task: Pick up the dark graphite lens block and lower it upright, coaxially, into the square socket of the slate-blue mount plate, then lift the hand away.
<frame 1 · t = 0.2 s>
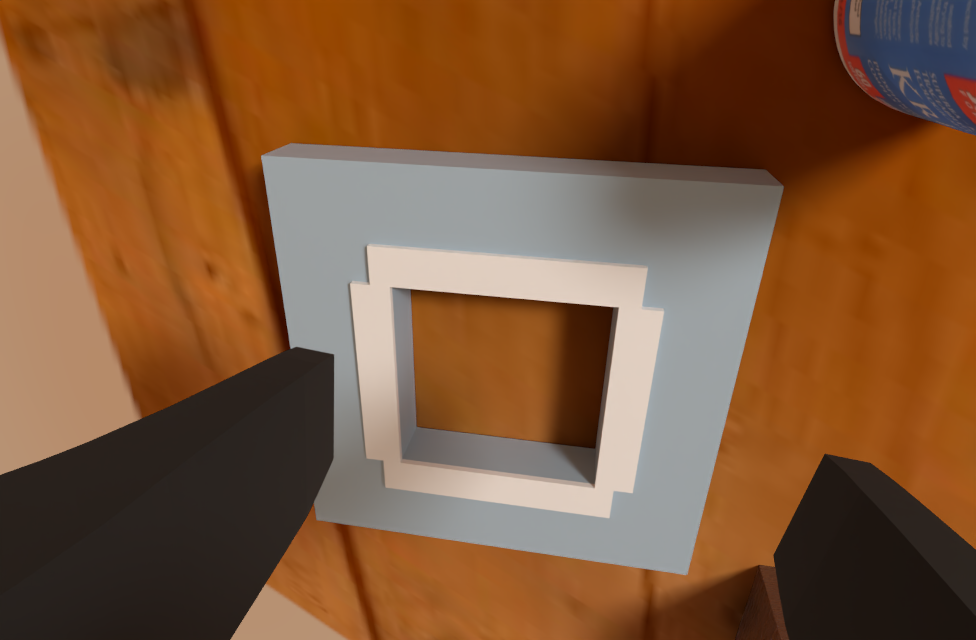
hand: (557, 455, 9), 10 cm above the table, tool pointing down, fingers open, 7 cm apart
mount plate: (507, 360, 20), on the table
lens block: (807, 614, 23), on the table
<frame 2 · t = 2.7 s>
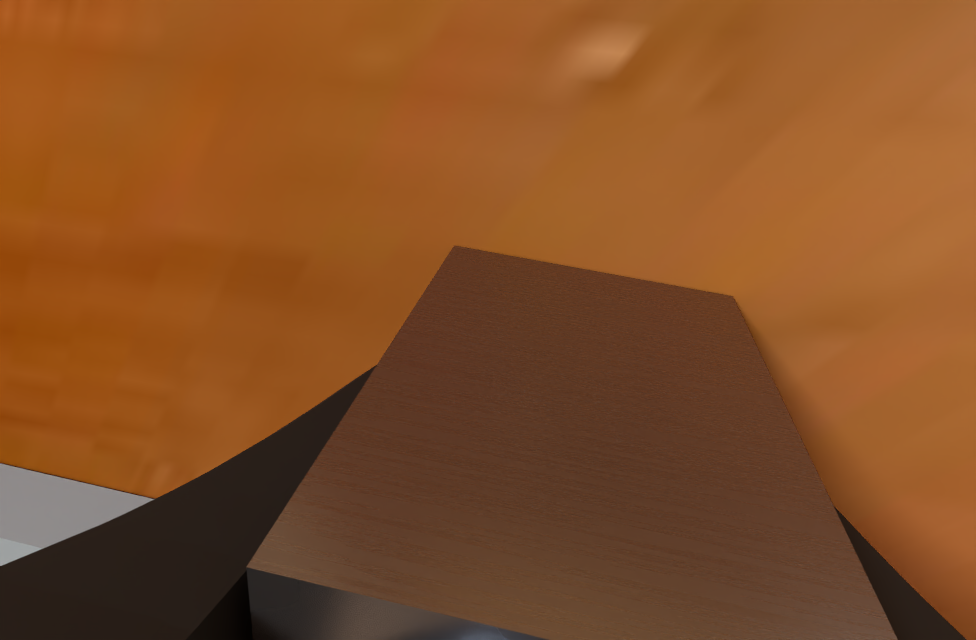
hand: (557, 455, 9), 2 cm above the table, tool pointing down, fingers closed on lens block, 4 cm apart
lens block: (564, 386, 11), on the table, touching gripper
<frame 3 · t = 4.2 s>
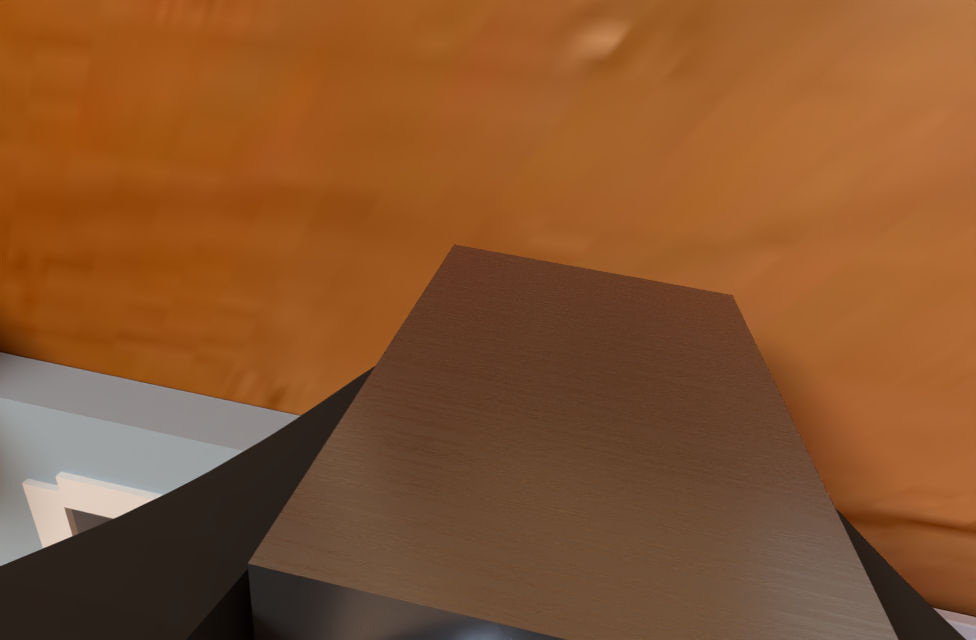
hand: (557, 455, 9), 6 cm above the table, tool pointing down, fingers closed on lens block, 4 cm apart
mount plate: (216, 554, 20), on the table
lens block: (564, 384, 11), point 4 cm above the table, touching gripper
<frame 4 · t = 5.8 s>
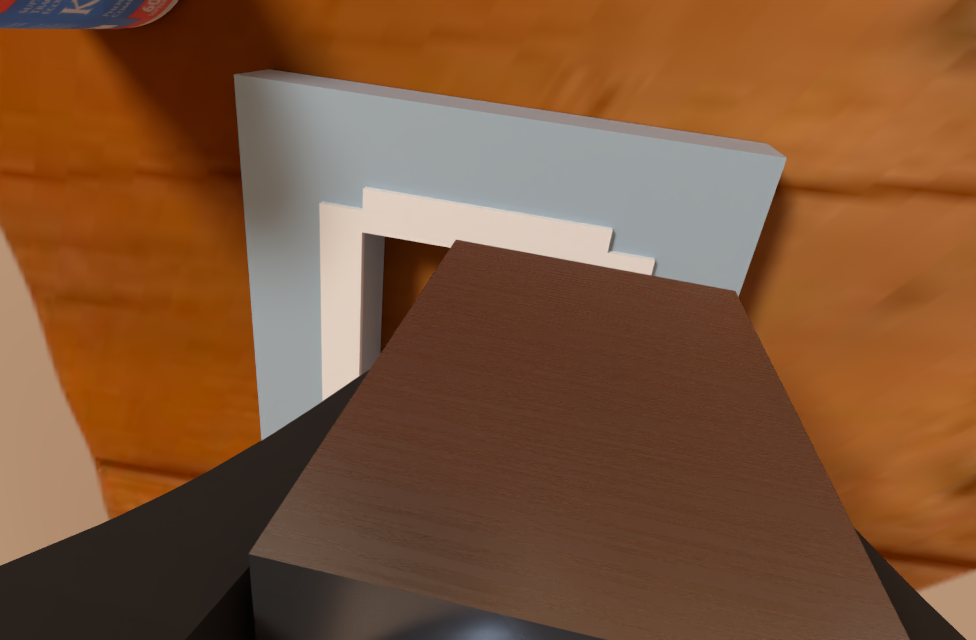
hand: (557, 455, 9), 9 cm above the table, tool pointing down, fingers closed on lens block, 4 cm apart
mount plate: (480, 326, 19), on the table
lens block: (565, 381, 11), point 8 cm above the table, touching gripper
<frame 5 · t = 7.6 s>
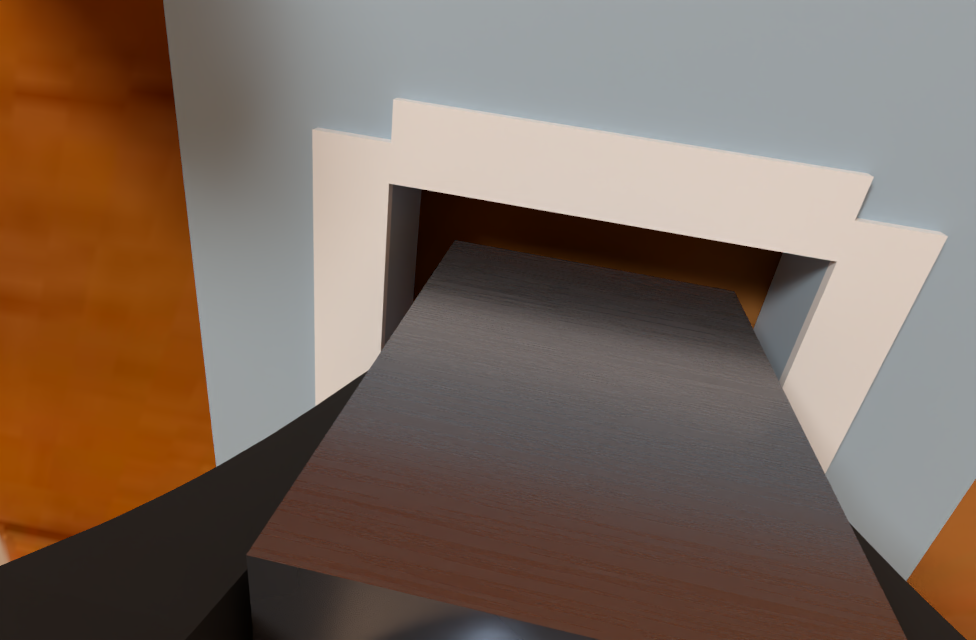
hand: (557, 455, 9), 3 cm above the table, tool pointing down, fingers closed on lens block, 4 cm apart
mount plate: (569, 346, 12), on the table
lens block: (565, 381, 11), point 1 cm above the table, touching gripper
when the fingers open (3 cm above the table, at t = 8.9 s): lens block drops 1 cm, resting in mount plate.
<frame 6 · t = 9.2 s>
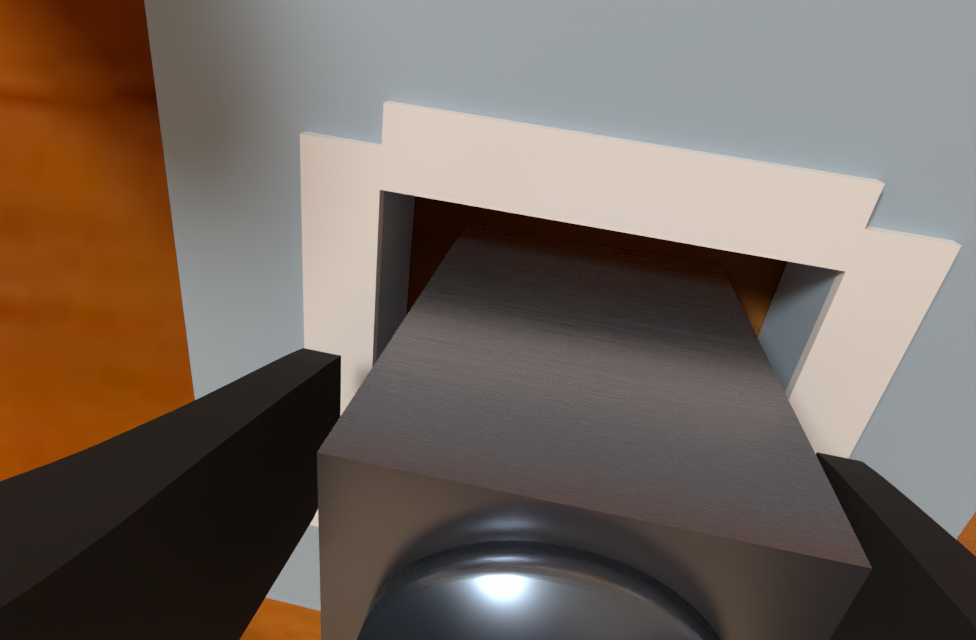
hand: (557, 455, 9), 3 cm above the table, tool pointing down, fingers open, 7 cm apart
mount plate: (567, 355, 12), on the table
lens block: (569, 351, 12), resting in mount plate
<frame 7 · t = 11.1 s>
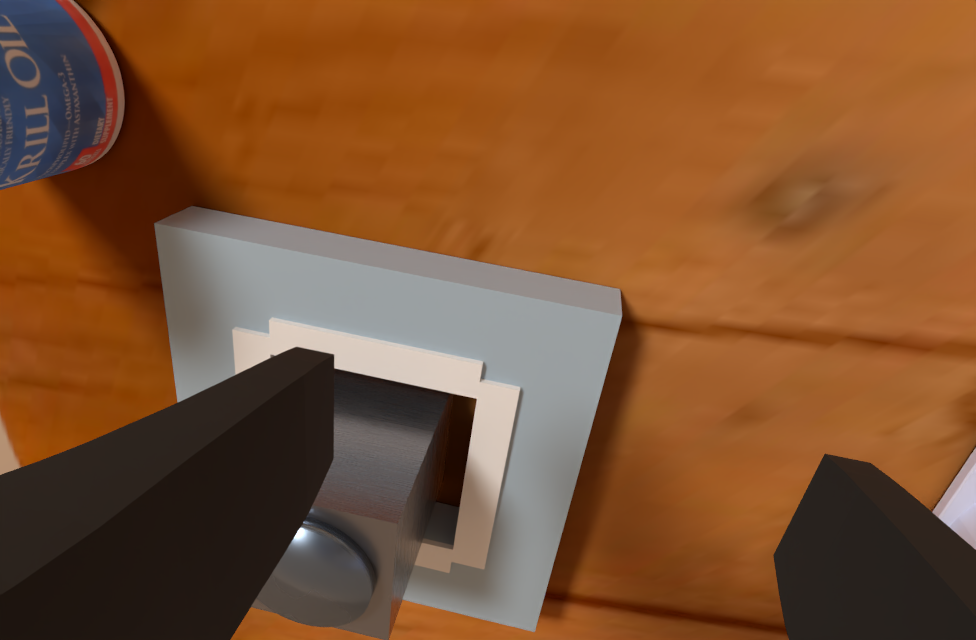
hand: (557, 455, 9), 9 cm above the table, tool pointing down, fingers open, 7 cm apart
mount plate: (386, 422, 21), on the table
pill bottle: (52, 72, 18), on the table
lens block: (387, 419, 21), resting in mount plate
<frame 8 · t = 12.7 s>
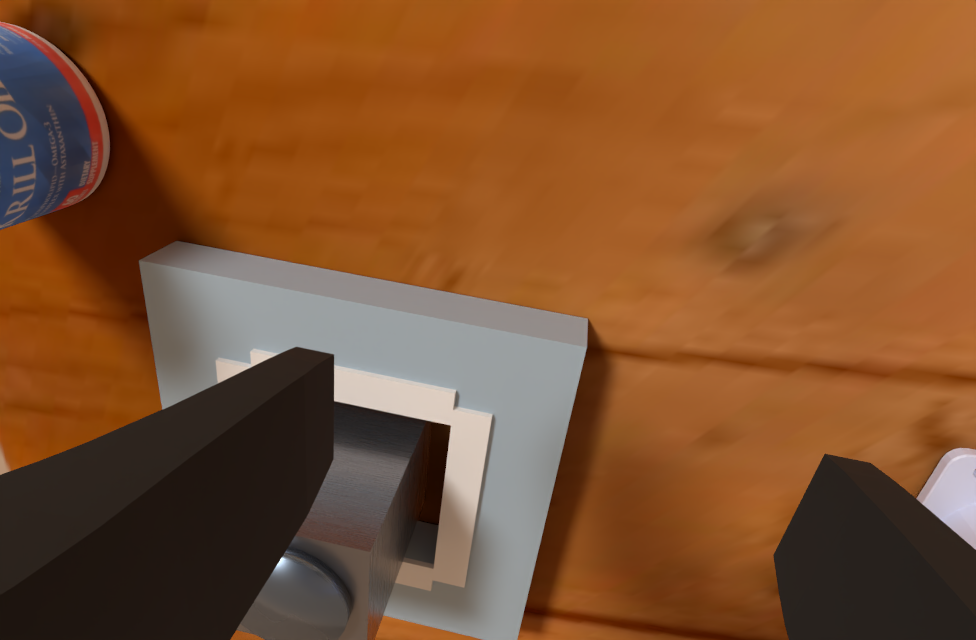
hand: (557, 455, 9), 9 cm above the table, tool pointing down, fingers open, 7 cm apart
mount plate: (368, 444, 22), on the table
pill bottle: (41, 115, 18), on the table
lens block: (369, 442, 22), resting in mount plate
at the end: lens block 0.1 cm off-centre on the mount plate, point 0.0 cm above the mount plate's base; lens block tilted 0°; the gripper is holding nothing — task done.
